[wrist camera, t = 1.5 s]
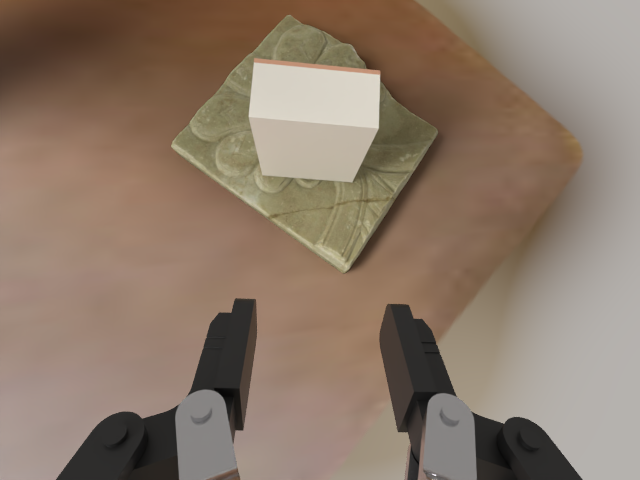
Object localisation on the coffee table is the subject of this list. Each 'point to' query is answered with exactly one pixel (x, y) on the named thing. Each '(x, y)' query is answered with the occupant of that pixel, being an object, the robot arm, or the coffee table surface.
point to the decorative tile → (297, 193)
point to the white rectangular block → (313, 118)
